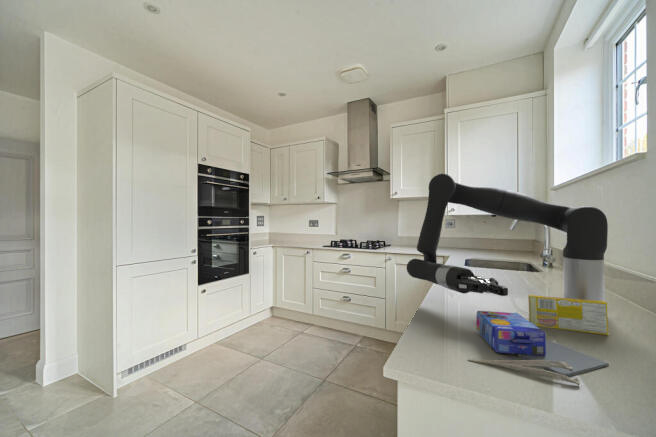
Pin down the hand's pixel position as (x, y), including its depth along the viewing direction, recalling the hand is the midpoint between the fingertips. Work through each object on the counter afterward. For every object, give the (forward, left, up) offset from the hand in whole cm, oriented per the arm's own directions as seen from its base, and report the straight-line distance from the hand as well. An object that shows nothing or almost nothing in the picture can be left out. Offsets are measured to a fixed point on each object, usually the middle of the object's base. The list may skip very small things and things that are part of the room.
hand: (505, 291), depth 68 cm
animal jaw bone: (+12, +12, -11) cm, 21 cm away
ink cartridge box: (+1, -2, -8) cm, 8 cm away
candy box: (-19, +2, -11) cm, 22 cm away
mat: (0, +10, -11) cm, 15 cm away
